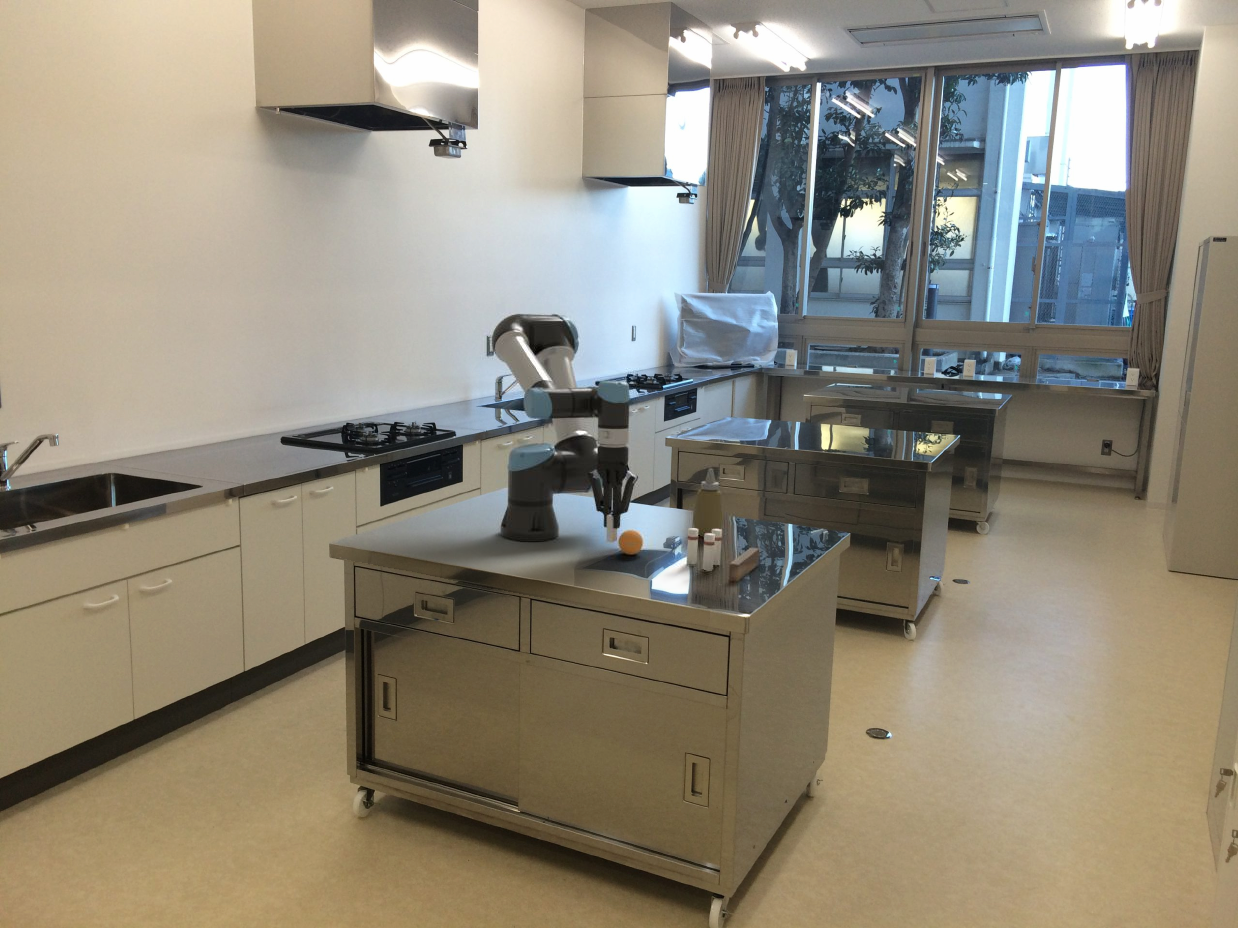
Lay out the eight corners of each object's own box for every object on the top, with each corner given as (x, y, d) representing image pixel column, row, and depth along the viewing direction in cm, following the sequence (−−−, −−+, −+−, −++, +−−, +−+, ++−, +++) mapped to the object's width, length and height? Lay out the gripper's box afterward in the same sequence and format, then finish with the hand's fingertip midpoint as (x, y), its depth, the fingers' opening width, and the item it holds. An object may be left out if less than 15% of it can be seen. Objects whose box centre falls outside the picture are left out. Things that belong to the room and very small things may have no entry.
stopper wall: (728, 580, 221) (729, 563, 220) (749, 563, 235) (750, 547, 234) (737, 581, 220) (738, 564, 219) (757, 564, 234) (758, 548, 234)
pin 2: (708, 565, 232) (710, 530, 231) (711, 562, 235) (713, 528, 233) (718, 566, 231) (720, 531, 230) (721, 564, 234) (723, 529, 232)
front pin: (684, 564, 232) (686, 529, 231) (688, 561, 234) (690, 527, 233) (694, 566, 231) (696, 531, 230) (698, 563, 233) (700, 529, 232)
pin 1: (700, 570, 228) (702, 534, 226) (704, 567, 230) (706, 532, 229) (711, 571, 227) (713, 536, 225) (714, 569, 229) (716, 534, 228)
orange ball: (613, 555, 238) (614, 531, 237) (624, 549, 243) (625, 526, 242) (636, 558, 235) (637, 534, 234) (646, 553, 241) (647, 529, 240)
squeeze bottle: (720, 540, 256) (724, 473, 252) (690, 537, 257) (693, 470, 254) (723, 533, 263) (727, 467, 260) (694, 530, 265) (697, 465, 262)
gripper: (581, 445, 236) (581, 540, 239) (630, 448, 230) (628, 546, 233) (596, 442, 242) (595, 535, 245) (644, 445, 237) (642, 541, 240)
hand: (611, 540), depth 239 cm, fingers closed
